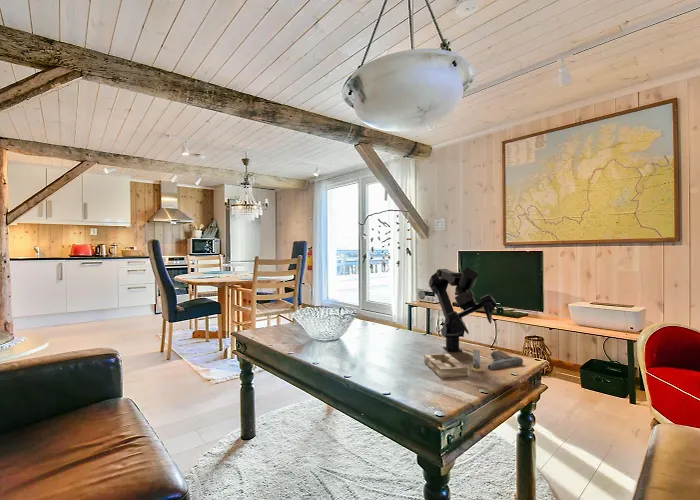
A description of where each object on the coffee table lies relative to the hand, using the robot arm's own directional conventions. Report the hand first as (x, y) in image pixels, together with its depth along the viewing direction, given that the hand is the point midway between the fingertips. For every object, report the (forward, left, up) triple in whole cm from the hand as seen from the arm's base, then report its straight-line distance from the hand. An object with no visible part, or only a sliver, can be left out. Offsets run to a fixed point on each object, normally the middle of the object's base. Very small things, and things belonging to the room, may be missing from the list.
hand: (479, 328), depth 134 cm
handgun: (-7, +11, -16) cm, 21 cm away
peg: (0, -1, -16) cm, 16 cm away
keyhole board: (-3, -12, -16) cm, 20 cm away
